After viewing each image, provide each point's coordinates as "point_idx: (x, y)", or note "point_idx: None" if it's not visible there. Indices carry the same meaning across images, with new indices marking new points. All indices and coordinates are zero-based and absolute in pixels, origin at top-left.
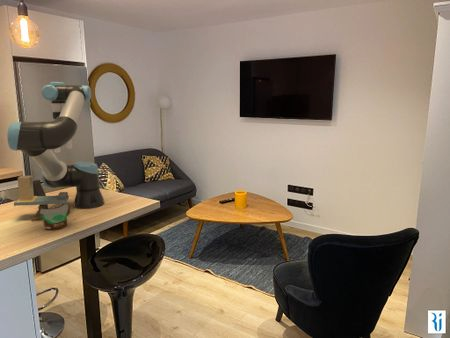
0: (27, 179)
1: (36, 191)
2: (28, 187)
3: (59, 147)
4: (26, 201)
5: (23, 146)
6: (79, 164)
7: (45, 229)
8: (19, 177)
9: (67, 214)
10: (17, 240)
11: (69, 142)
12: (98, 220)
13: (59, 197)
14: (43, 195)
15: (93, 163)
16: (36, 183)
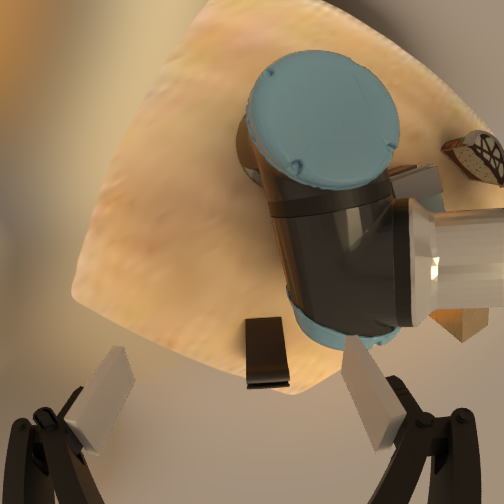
0: None
1: (285, 351)
2: None
3: (373, 361)
4: None
5: None
6: (394, 128)
7: (469, 179)
8: (481, 327)
9: (399, 167)
10: (499, 207)
11: (105, 397)
12: (414, 75)
13: (438, 184)
14: (259, 333)
15: (296, 68)
16: (276, 371)
